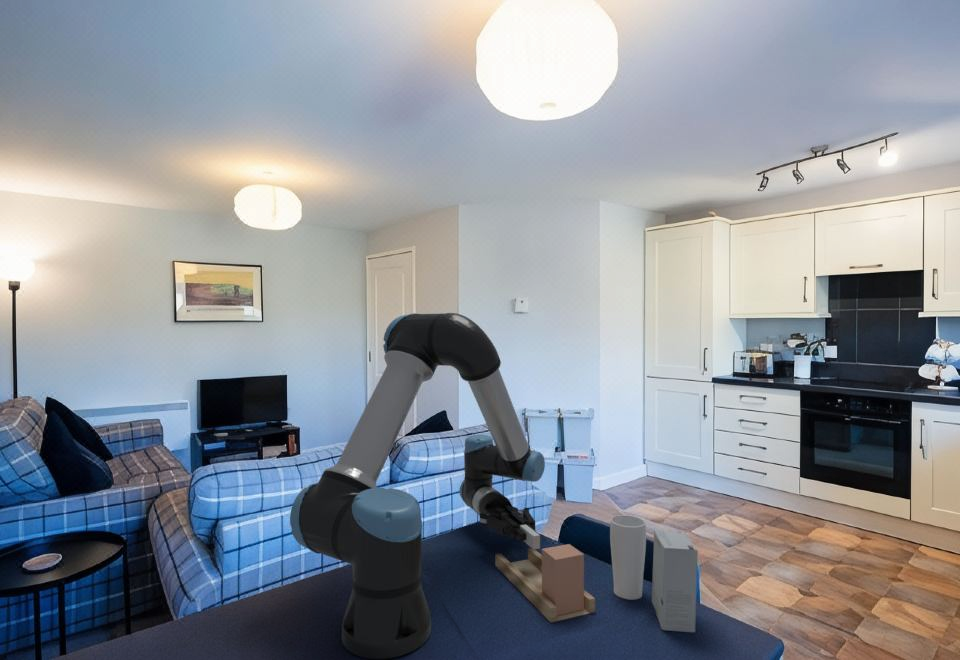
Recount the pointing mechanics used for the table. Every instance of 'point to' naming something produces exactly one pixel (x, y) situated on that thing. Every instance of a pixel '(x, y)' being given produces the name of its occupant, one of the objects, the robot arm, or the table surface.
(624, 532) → the drinking glass
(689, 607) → the skincare box
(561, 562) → the terracotta block
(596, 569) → the table surface
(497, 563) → the shallow wooden tray
